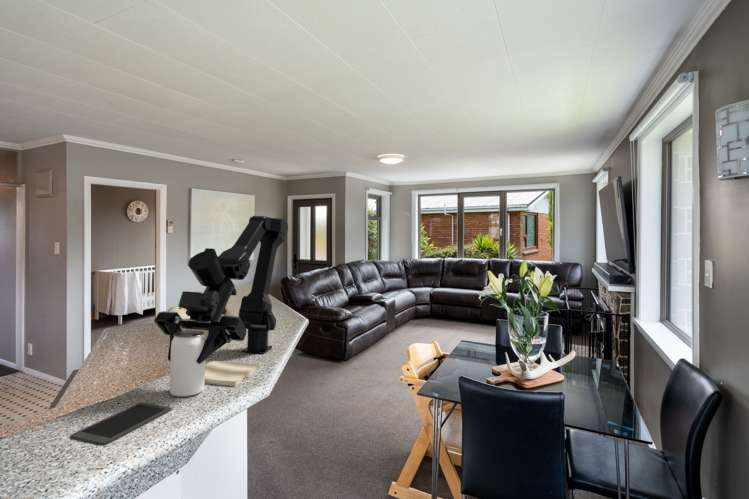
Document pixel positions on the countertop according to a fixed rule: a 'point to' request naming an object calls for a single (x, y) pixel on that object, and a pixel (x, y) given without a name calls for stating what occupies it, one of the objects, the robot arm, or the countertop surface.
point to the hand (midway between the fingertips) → (183, 361)
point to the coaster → (228, 372)
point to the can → (187, 364)
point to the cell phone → (120, 423)
